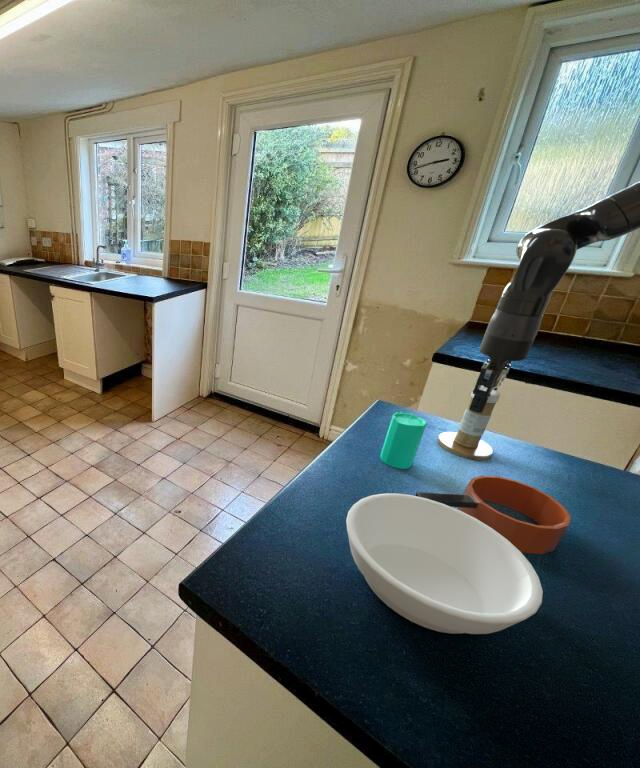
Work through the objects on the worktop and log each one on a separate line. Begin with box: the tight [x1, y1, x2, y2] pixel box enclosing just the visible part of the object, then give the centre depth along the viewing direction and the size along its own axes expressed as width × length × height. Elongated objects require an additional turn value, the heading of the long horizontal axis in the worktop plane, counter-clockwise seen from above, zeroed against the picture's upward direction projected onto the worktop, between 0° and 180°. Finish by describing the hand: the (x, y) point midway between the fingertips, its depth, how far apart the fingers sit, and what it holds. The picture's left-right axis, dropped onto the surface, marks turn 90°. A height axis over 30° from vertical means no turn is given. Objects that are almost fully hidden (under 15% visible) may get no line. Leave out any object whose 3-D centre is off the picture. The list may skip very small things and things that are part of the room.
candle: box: [379, 411, 427, 470], centre depth 88 cm, size 6×6×12 cm
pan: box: [414, 474, 572, 555], centre depth 72 cm, size 22×13×6 cm, turn 84°
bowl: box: [345, 492, 544, 635], centre depth 60 cm, size 22×22×8 cm
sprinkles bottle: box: [454, 386, 501, 448], centre depth 91 cm, size 5×5×14 cm
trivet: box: [437, 431, 494, 461], centre depth 95 cm, size 10×10×1 cm
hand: (480, 405), depth 90 cm, fingers open, 7 cm apart
